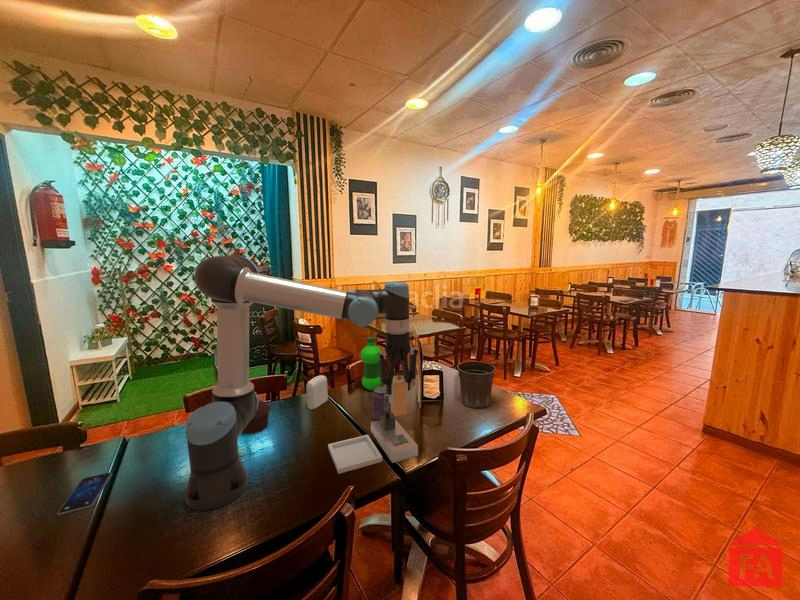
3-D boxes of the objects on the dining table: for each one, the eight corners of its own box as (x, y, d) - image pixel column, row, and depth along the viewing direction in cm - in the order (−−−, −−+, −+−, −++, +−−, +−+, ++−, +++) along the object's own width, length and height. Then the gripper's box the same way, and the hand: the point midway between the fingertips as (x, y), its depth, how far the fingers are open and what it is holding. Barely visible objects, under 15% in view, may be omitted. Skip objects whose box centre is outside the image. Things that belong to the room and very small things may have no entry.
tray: (338, 475, 98) (338, 469, 98) (328, 449, 110) (328, 444, 110) (382, 462, 103) (382, 456, 103) (368, 439, 116) (367, 434, 116)
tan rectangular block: (395, 416, 105) (395, 386, 103) (390, 410, 108) (390, 381, 107) (406, 413, 106) (406, 384, 105) (401, 408, 110) (401, 379, 109)
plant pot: (449, 403, 143) (450, 368, 141) (466, 391, 156) (467, 358, 153) (485, 415, 133) (486, 376, 131) (499, 400, 146) (501, 365, 144)
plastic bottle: (374, 382, 167) (373, 334, 163) (386, 388, 159) (386, 338, 155) (357, 387, 160) (356, 337, 157) (369, 394, 152) (368, 342, 149)
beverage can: (392, 414, 134) (391, 386, 132) (389, 423, 127) (389, 393, 125) (374, 413, 135) (374, 385, 133) (371, 422, 128) (371, 393, 126)
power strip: (392, 464, 103) (392, 433, 101) (370, 432, 121) (370, 405, 119) (417, 456, 106) (418, 426, 105) (393, 427, 124) (393, 401, 123)
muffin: (231, 432, 122) (229, 406, 120) (253, 417, 132) (251, 394, 131) (257, 437, 118) (255, 411, 116) (278, 422, 128) (276, 398, 127)
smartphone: (54, 515, 83) (81, 478, 96) (55, 518, 83) (82, 481, 97) (92, 505, 86) (113, 470, 99) (92, 508, 86) (114, 473, 100)
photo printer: (313, 410, 138) (312, 382, 136) (305, 408, 140) (304, 380, 138) (329, 400, 147) (328, 374, 145) (321, 398, 149) (320, 372, 147)
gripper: (376, 337, 97) (377, 412, 100) (427, 331, 103) (427, 401, 107) (367, 331, 103) (369, 402, 107) (416, 326, 110) (416, 392, 114)
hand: (398, 401), depth 107 cm, fingers closed on tan rectangular block, 4 cm apart
